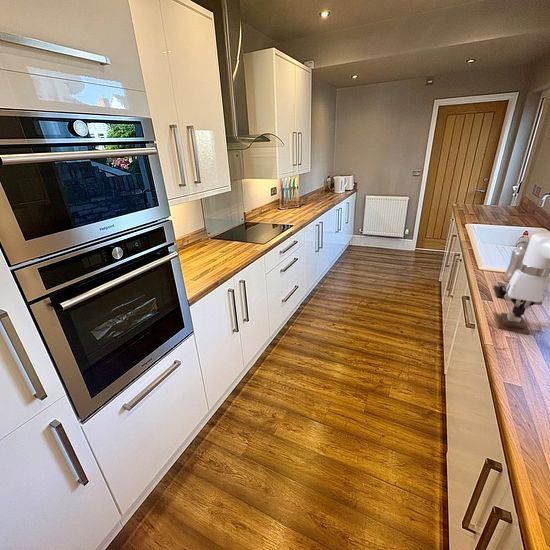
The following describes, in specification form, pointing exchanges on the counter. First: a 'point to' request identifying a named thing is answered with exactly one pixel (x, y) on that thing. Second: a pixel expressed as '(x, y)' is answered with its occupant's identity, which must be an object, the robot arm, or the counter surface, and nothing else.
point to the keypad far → (501, 292)
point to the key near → (513, 318)
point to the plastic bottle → (516, 260)
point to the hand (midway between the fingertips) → (516, 315)
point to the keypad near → (511, 324)
